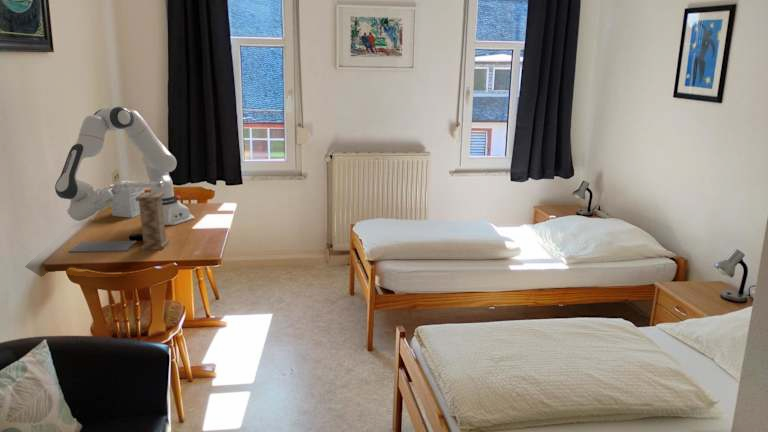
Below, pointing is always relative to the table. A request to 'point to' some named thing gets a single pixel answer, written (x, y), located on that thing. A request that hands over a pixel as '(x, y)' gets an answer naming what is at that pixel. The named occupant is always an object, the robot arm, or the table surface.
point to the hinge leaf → (140, 184)
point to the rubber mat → (103, 246)
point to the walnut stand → (152, 220)
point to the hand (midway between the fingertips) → (125, 184)
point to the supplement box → (126, 202)
